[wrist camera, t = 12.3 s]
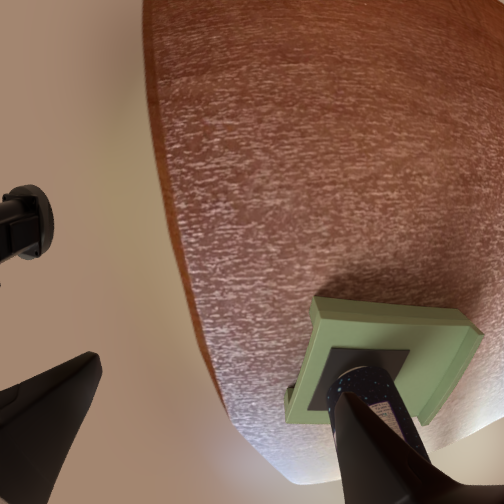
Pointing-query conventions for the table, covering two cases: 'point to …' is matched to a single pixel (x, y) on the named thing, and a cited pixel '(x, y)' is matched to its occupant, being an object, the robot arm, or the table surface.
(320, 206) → the table surface
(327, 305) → the shelf
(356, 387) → the beverage can
